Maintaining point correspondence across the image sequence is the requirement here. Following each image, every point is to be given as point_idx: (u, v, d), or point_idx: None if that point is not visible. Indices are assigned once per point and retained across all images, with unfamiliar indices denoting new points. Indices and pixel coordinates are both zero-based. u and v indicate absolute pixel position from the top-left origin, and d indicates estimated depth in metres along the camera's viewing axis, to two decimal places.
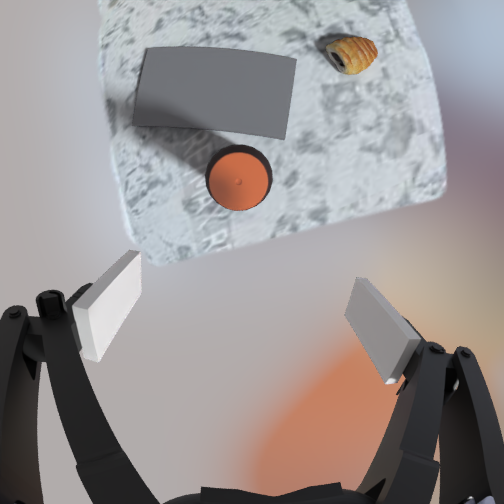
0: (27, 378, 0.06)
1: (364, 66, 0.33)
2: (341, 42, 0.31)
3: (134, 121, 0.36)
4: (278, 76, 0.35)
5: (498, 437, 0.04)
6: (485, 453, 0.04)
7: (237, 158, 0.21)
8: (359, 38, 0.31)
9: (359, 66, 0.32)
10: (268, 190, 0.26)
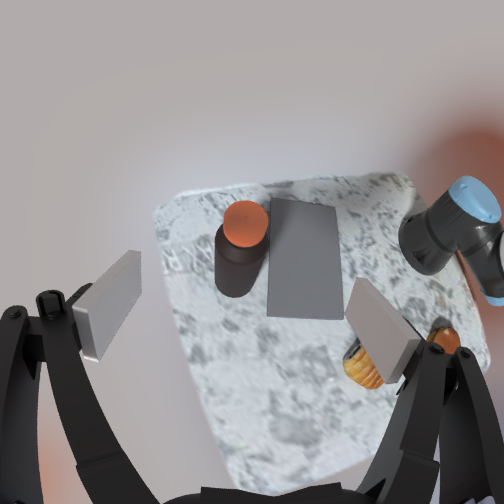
0: (27, 378, 0.06)
1: (356, 377, 0.40)
2: None
3: (274, 199, 0.55)
4: (324, 305, 0.46)
5: (498, 437, 0.04)
6: (485, 453, 0.04)
7: (263, 217, 0.30)
8: None
9: (355, 371, 0.40)
10: (233, 260, 0.32)
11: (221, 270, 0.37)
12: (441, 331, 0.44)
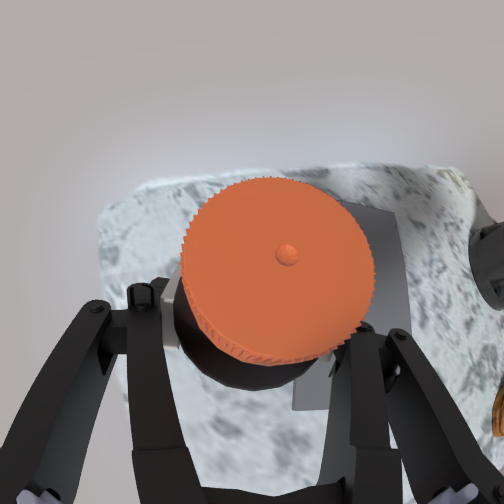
0: (97, 373, 0.07)
1: None
2: None
3: None
4: None
5: (460, 421, 0.05)
6: (451, 442, 0.04)
7: (357, 251, 0.07)
8: None
9: None
10: (228, 381, 0.09)
11: None
12: None
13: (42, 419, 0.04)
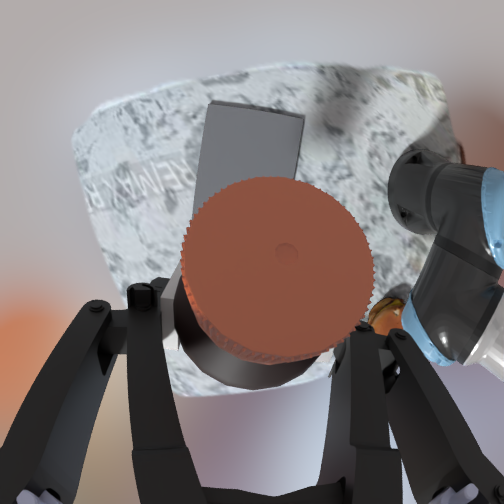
0: (97, 373, 0.07)
1: None
2: None
3: (212, 106, 0.34)
4: None
5: (460, 421, 0.05)
6: (451, 442, 0.04)
7: (356, 250, 0.07)
8: None
9: None
10: (228, 380, 0.09)
11: None
12: (391, 310, 0.44)
13: (42, 419, 0.04)
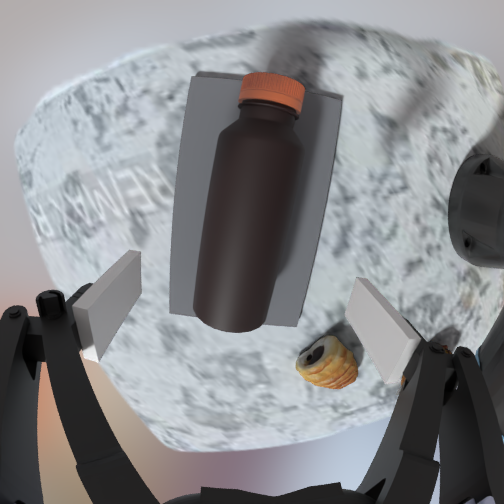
0: (27, 378, 0.06)
1: (312, 382, 0.31)
2: (341, 359, 0.28)
3: (198, 79, 0.20)
4: None
5: (498, 437, 0.04)
6: (485, 453, 0.04)
7: None
8: (354, 371, 0.30)
9: (310, 381, 0.30)
10: (249, 131, 0.17)
11: (217, 197, 0.19)
12: None
13: None
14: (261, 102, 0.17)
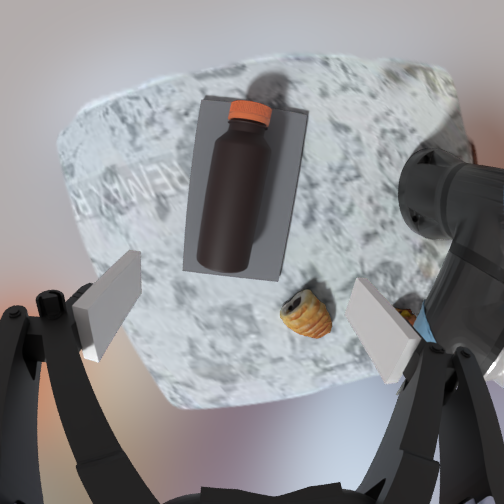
0: (27, 378, 0.06)
1: (294, 330, 0.42)
2: (314, 307, 0.39)
3: (206, 102, 0.31)
4: (254, 263, 0.39)
5: (498, 437, 0.04)
6: (485, 453, 0.04)
7: None
8: (328, 321, 0.41)
9: (292, 327, 0.41)
10: (228, 138, 0.27)
11: (211, 179, 0.30)
12: None
13: None
14: (238, 120, 0.27)
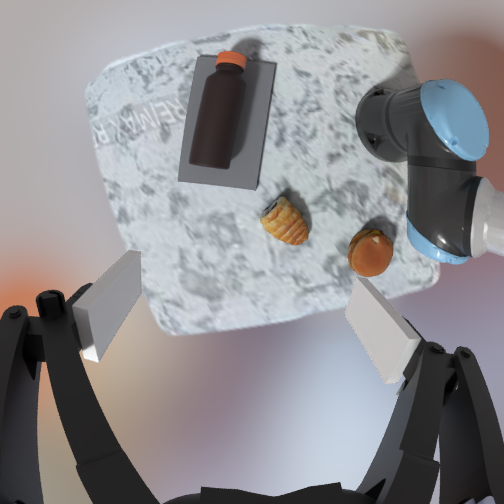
0: (27, 378, 0.06)
1: (273, 234, 0.49)
2: (289, 208, 0.46)
3: (201, 58, 0.38)
4: (235, 174, 0.46)
5: (498, 437, 0.04)
6: (485, 453, 0.04)
7: None
8: (303, 225, 0.48)
9: (271, 229, 0.48)
10: (214, 74, 0.35)
11: (201, 102, 0.37)
12: (369, 237, 0.48)
13: None
14: (221, 63, 0.35)
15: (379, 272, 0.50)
